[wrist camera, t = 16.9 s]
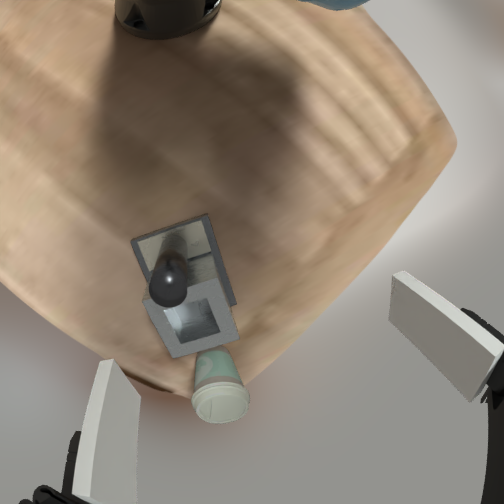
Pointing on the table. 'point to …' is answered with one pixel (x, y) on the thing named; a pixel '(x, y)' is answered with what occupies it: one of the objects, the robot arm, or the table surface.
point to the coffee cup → (218, 387)
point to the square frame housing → (191, 290)
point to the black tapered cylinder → (170, 273)
